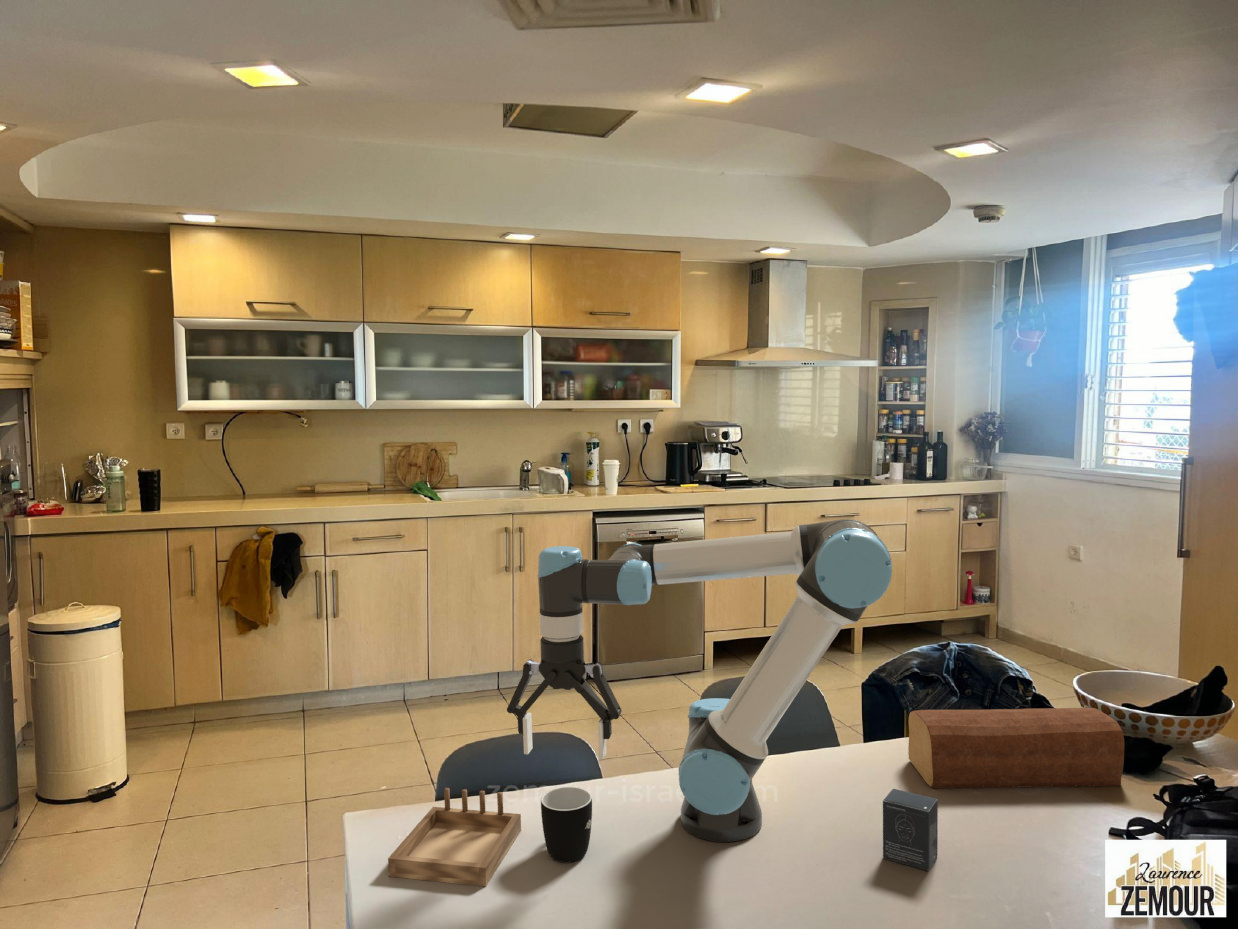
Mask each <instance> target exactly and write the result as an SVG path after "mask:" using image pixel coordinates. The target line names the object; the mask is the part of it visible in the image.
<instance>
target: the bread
mask: <svg viewBox="0 0 1238 929" xmlns="http://www.w3.org/2000/svg"><path fill="white" fill-rule="evenodd" d="M907 753H908V760H909V761H910V763H911V764H912V765H913V767H914V768H915V769H916V770H917V772H918V773H919V775H920V776H921V777H922V779H923V780H924V781H925V783H926V784H927V785H928V786H929V787H930V788H932V789H977V788H978V789H979V788H980V789H983V788H987V789H990V788H999V789H1001V788H1003V789H1004V788H1055V787H1056V788H1059V787H1060V788H1061V787H1062V788H1063V787H1065V788H1066V787H1067V788H1068V787H1112V786H1113V787H1115V786H1121V785H1122V776H1123V771H1124V762H1125V761H1124V760H1125V738H1124V733H1123V729H1122V728H1121V726H1120V724H1119V723H1118V722H1117V721H1116V720H1115V719H1114V718H1112V717H1111V716H1109V715H1107V714H1106V713H1104V712H1103V711H1101V710H1099V709H1097V708H1095V707H1058V708H1057V707H1056V708H1055V707H1054V708H1048V707H1047V708H1015V709H1013V708H1012V709H1010V708H1009V709H1008V708H1003V709H1001V708H999V709H995V708H994V709H918V710H912V711H910V713H909V716H908V752H907Z"/></svg>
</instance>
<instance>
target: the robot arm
mask: <svg viewBox="0 0 1238 929" xmlns="http://www.w3.org/2000/svg"><path fill="white" fill-rule="evenodd" d="M784 575H797V576H798V577H797V579H796V580H795V587H796V591H797V597H796V598H795V599H794V601H793V603H792V604H791V605H790V607H789V608H788V610H787V611H786V613H785V614H784V616H783V617H782V619H781V621H780V623H779V624H778V626H776V628H775V630H774V631H773V633H772V635H771V636H770V638H769V640H767V642H766V644H765V645H764V646H763V649H761V651H760V653H759V654H758V655H757V658H756V659H755V661H754V662H753V664H752V665H751V667H750V668H749V670H748V671H747V673H746V675H744V677H743V679H742V681H741V682H740V684H739V685H738V687H737V688H736V690H735V691H734V693H733V694H732V696H731V697H730V698H724V697H723V698H719V697H717V698H702V699H699V700H695V701H693V702H692V703H690V705H689V707H688V715H687V718H688V735H687V741H686V743H685V747H684V751H683V755H682V759H681V761H680V763H679V766H678V783H679V788H680V791H681V793H682V795H683V796H684V798H683V801H682V804H681V808H680V824H681V826H682V827H683V829H684V830H685V831H686V832H687V833H689V834H690V835H692V836H694V837H695V838H699V839H702V840H706V841H708V842H709V841H710V842H718V843H731V842H739V841H743V840H747V839H749V838H751V837H753V836H755V835H756V834H758V833H759V832H760V830H761V829H762V827H763V826H762V825H763V812H762V808H761V805H760V803H759V799H758V796H757V792H756V790H755V788H754V787H755V786H754V783H753V778H754V777H755V775H756V773H757V772H758V771H759V769H760V768H761V766H762V764H764V761H765V760H766V759H767V757H768V755H769V749H768V745H767V740H768V738H769V737H770V735H771V734H772V732H774V730H775V728H776V727H777V725H778V724H779V722H780V721H781V719H782V718H783V716H784V714H785V713H786V712H787V710H788V709H789V707H790V706H791V704H792V703H793V701H794V700H795V698H796V696H797V695H798V694H799V692H800V691H801V689H802V688H803V686H804V685H805V683H806V682H807V680H808V679H809V677H810V675H811V674H812V673H813V671H814V670H815V668H816V667H817V666H818V664H819V662H820V661H821V659H822V658H823V656H824V654H826V652H827V650H828V649H829V648H830V646H831V644H832V643H833V641H834V640H835V638H836V637H837V636H838V634H839V633H840V631H841V629H842V628H843V626H845V625H851V624H852V625H853V624H857V623H858V622H859V620H860V619H861V617H862V616H863V615H864V613H865V612H866V610H867V609H868V607H869V606H870V605H872V604H874V603H875V602H877V601H879V600H880V599H881V598H882V597H883V596H884V594H885V593H886V592H887V590H888V588H889V586H890V584H891V580H892V576H893V563H892V557H891V554H890V552H889V550H888V548H887V546H886V544H885V543H884V542H883V541H882V539H881V538H880V537H879V536H878V534H877V533H876V531H875V530H874V529H873V528H871V527H870V526H869V525H867V524H866V523H864V522H862V521H860V520H856V519H850V518H846V519H845V518H843V519H841V518H840V519H835V520H828V521H821V522H815V523H810V524H809V523H807V524H799V525H796V526H795V527H794V528H793V530H791V531H784V532H773V533H763V534H762V533H761V534H751V535H743V536H742V535H741V536H731V537H730V536H729V537H721V538H718V537H717V538H709V539H698V540H697V539H696V540H687V541H676V542H666V543H665V542H664V543H655V544H644V545H643V544H639V543H634V542H633V543H632V542H631V543H627V544H623V545H622V546H620V547H618V548H617V549H616V550H615V551H614V552H613V554H612V555H611V556H610V557H609V558H608V559H584V558H583V555H582V550H581V549H580V548H578V547H575V546H568V545H567V546H566V545H562V546H561V545H560V546H559V545H558V546H549V547H545V548H544V549H543V550H541V551H540V552H539V554H538V572H537V580H538V581H537V583H538V584H537V585H538V600H539V635H540V636H541V637H540V642H539V643H540V662H536V661H534V660H533V659H531V658H530V659H528V660H527V661H526V662H525V663H523V666H522V676H521V678H520V680H519V682H518V684H517V687H516V689H515V690H514V693H513V695H512V696H511V700H510V701H509V704H508V706H507V707H506V711H507V713H508V714H513V715H515V716H516V717H517V731H518V734H519V735H523V736H522V738H523V740H522V741H523V754H524V755H529V754H530V752H531V751H532V750H533V722H532V720H533V719H532V716H533V715H532V712H528V711H529V709H530V708H531V707H532V706H533V704H534V703H535V702H536V701H537V700H538V699H539V697H540V696H541V695H542V694H543V693H544V691H545V690H546V689H547V688H548V687H550V688H552V689H553V690H560V689H563V690H565V691H571V689H572V690H573V689H574V691H576V692H577V694H579V695H580V696H582V698H583V699H584V700H585V701H586V703H587V704H588V705H589V706H590V708H591V709H592V710H593V711H594V712H595V713H596V714H597V716H598V717H599V718H600V719H599V720H598V722H597V731H598V732H597V733H598V734H597V735H598V740H597V742H598V760H604V759H605V756H606V755H607V740H609V739H610V738H611V736H612V732H613V731H612V730H613V729H612V720H613V721H614V720H617V719H620V716H621V714H622V712H623V711H622V708H621V706H620V704H619V702H618V701H617V698H616V696H615V694H614V693H613V691H612V689H611V686H610V685H609V684H610V683H609V682H608V681H607V678H606V677H605V674H604V670H603V669H604V667H603V664H602V662H600V661H598V662H595V664H594V663H593V664H586V662H585V654H584V653H585V651H584V649H585V648H584V636H582V634H584V619H583V618H584V615H583V614H584V613H583V604H599V605H600V604H601V605H625V606H633V605H645V604H647V603H648V602H649V601H650V600H651V594H652V587H653V586H658V585H671V584H674V585H675V584H685V583H696V582H697V583H698V582H709V581H720V580H721V581H722V580H731V579H734V580H735V579H745V578H746V579H747V578H758V577H759V578H760V577H771V576H784ZM537 671H538V672H539V673H540V675H541V676H542V677H543V680H542V682H541V683H540V684H539V686H537V688H535V690H534V692H532V694H531V695H530V696H529V697H528V699H527V700H525V702H524V703H523V705H520V702H521V701H522V698H523V695H524V694H525V691H526V690H527V687H528V685H529V683H530V681H531V679H532V676H533V675H535V674H536V673H537ZM586 673H588V674H589V676H590V677H591V678H593V681H594V684H595V686H596V688H597V690H598V692H599V694H600V696H601V697H602V699H603V701H604V702H603V701H602V699H601V698H600V696H598V694H597V693H596V692H595V691H594V690H593V689H592V687H591V686H590V685H589V682H588V681H587V679H585V677H584V675H585V674H586Z"/></svg>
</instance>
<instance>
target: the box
mask: <svg viewBox="0 0 1238 929" xmlns="http://www.w3.org/2000/svg"><path fill="white" fill-rule="evenodd" d="M938 809H939V807H938V798H935V797H930V796H927V795H926V796H925V795H922V794H918V793H914V792H909V791H906V790H902V789H901V790H900V789H897V788H892V789H891V791H890V792H888V794H887V795H886V797H885V798H884V799H883V800H882V856H883V857H882V858H883V859H885V860H888V861H892V862H894V863H895V862H896V863H898V864H903V865H906V866H910V867H913V868H915V869H920V870H924V871H927V872H929V871H930V869H932V867H933V865H934V863H935V861H936V860H937V858H938V844H939V843H938V841H939V840H938V832H939V831H938V826H939V825H938V824H939V823H938V822H939V821H938V815H939V814H938V812H939V811H938Z"/></svg>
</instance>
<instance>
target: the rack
mask: <svg viewBox="0 0 1238 929" xmlns="http://www.w3.org/2000/svg"><path fill="white" fill-rule="evenodd" d="M450 793H451V791H450V787H444V789H443V794H444V795H443V796H444V797H443V798H444V807H440V806H432V807H431V809H429V810H428V812H427V813H426V814H425V815H424V816H423V818H422V819H421V820H420V821H419V822H418V823H417V824H416V826H414V828H413V829H412V830H411V832H409V833H408V835H407V836H406V837H405V838H404V840H403V841H402V842H401V843H400V844H399V845H397V847H396V849H395V850H394V851H393V852H392V853H391V854H390V856H388V858H387V864H388V865H387V866H388V877H389V878H390V877H392V878H400V879H410V880H421V881H430V882H440V883H446V884H447V883H448V884H460V885H469V886H477V887H487V886H488V884H489V883H490V881H491V879H492V878H493V876H494V875H495V873H496V872H497V870H498V868H499V867H500V866H501V864H502V862H503V861H504V859H505V857H506V855H507V854H508V853H509V851H510V849H511V847H512V846H513V844H514V843H515V841H516V839H517V838H518V837H519V835H520V834H521V832H522V820H521V818H522V816H521V813H512V812H504V795H503V794H504V793H503V792H502V791H499V792H497V793H496V794H497V795H496V799H497V811H487V810H486V791H485V790H480V791H479V792H478V793H479V795H478V796H479V797H478V798H479V809H478V810H477V809H469V808H468V804H469V803H468V790H467V788H464V789H461V808H453V807H451V796H450V795H451V794H450Z"/></svg>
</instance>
